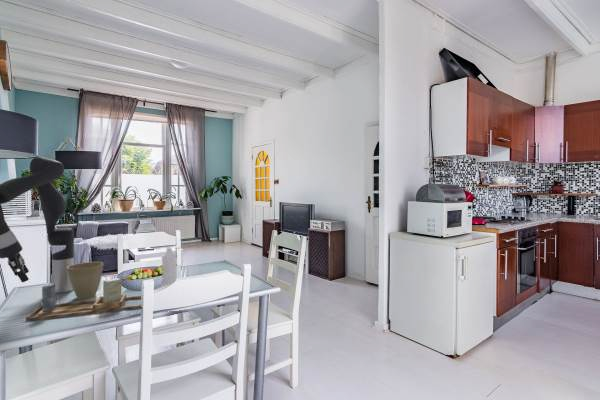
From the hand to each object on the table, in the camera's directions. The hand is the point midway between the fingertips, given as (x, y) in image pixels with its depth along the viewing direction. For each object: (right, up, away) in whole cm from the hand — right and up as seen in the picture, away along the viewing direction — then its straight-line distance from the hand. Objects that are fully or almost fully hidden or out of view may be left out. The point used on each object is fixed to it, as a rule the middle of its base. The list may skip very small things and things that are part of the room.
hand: (25, 276), depth 129 cm
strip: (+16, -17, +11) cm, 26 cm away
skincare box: (+27, -17, +15) cm, 35 cm away
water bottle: (+49, -17, +27) cm, 59 cm away
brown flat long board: (+21, -17, +13) cm, 30 cm away
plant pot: (+6, -17, +27) cm, 33 cm away
